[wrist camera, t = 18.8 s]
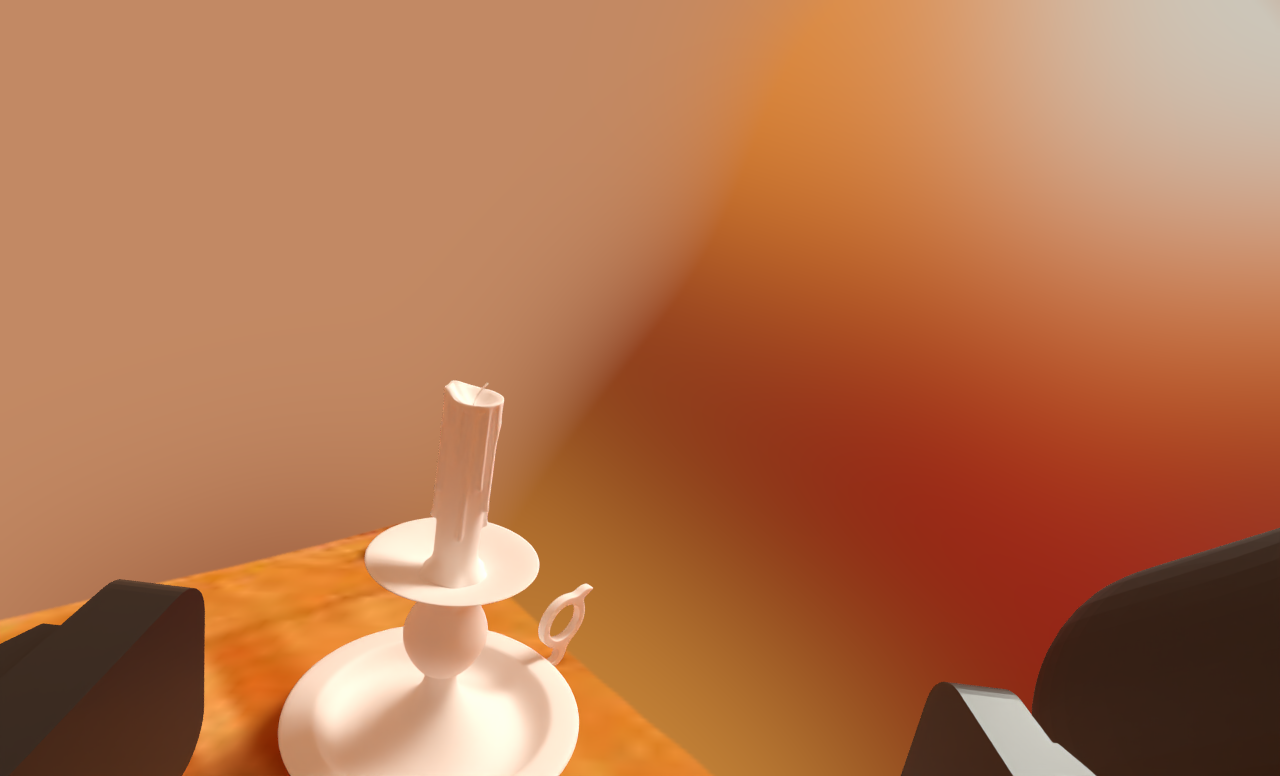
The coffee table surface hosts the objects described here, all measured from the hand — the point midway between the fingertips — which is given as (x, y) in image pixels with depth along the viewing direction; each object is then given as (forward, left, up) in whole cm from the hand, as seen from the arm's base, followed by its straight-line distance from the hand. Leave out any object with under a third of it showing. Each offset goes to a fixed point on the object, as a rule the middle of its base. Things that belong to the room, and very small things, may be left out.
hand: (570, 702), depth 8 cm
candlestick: (-27, -31, -37) cm, 55 cm away
